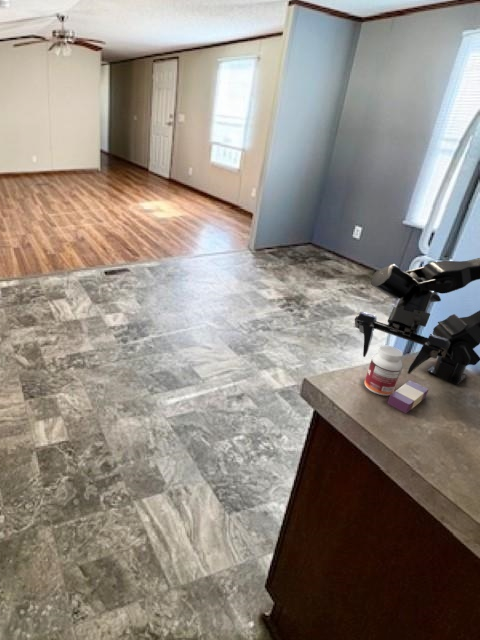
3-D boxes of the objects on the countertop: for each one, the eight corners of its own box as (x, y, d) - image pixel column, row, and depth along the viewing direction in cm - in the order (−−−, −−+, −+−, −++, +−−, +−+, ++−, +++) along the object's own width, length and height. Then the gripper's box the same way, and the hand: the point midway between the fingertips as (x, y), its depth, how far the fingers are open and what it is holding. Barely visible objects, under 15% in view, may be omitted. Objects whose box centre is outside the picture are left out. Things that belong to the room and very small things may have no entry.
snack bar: (406, 388, 103) (409, 380, 102) (425, 397, 100) (428, 389, 99) (386, 403, 98) (390, 394, 97) (406, 413, 95) (409, 404, 94)
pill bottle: (369, 377, 107) (381, 340, 103) (397, 389, 103) (411, 351, 98) (359, 386, 104) (371, 349, 99) (387, 400, 99) (401, 361, 95)
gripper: (367, 281, 103) (340, 337, 100) (464, 308, 90) (437, 372, 88) (368, 300, 111) (343, 352, 108) (457, 327, 99) (432, 386, 96)
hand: (385, 364), depth 100 cm, fingers open, 9 cm apart
